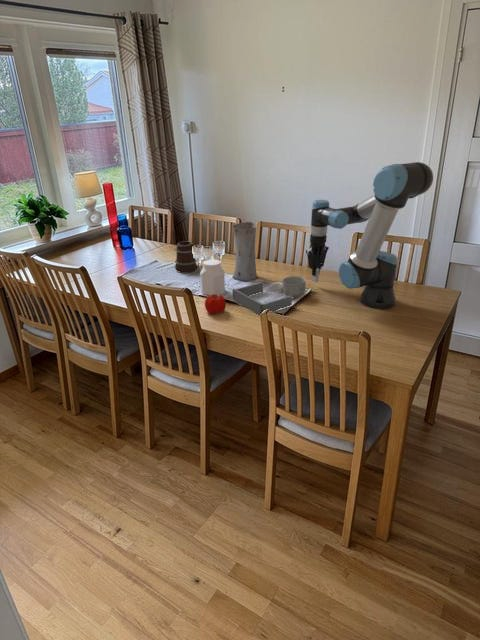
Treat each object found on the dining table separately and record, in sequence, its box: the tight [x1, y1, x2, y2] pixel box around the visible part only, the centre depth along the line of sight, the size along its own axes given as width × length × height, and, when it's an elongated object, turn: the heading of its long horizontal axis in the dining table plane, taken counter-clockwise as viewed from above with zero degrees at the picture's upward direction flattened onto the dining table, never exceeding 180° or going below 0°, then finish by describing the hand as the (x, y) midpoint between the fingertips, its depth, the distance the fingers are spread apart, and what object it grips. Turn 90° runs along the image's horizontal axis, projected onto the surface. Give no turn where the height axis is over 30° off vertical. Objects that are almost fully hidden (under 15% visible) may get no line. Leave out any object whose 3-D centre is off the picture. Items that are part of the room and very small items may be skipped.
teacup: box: [281, 274, 306, 299], centre depth 208 cm, size 14×11×8 cm
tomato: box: [204, 294, 227, 315], centre depth 192 cm, size 9×9×8 cm
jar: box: [199, 259, 226, 296], centre depth 211 cm, size 12×10×15 cm
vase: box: [232, 221, 258, 282], centre depth 225 cm, size 13×14×28 cm
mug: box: [174, 240, 198, 273], centre depth 243 cm, size 16×12×15 cm
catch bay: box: [231, 281, 293, 316], centre depth 200 cm, size 22×17×5 cm
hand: (315, 281), depth 216 cm, fingers closed
